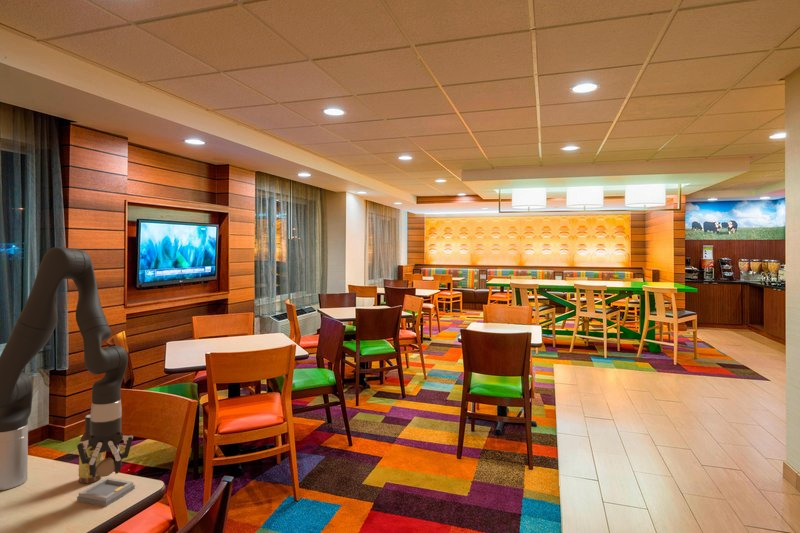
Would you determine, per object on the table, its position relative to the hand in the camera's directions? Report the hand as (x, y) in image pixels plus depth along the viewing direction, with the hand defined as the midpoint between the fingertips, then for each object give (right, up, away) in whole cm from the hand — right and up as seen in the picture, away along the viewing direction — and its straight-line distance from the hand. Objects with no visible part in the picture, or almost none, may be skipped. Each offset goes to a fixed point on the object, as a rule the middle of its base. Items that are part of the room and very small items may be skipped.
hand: (105, 474), depth 134 cm
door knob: (0, -1, 0) cm, 1 cm away
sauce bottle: (-10, -6, +9) cm, 15 cm away
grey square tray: (0, -6, +1) cm, 6 cm away
